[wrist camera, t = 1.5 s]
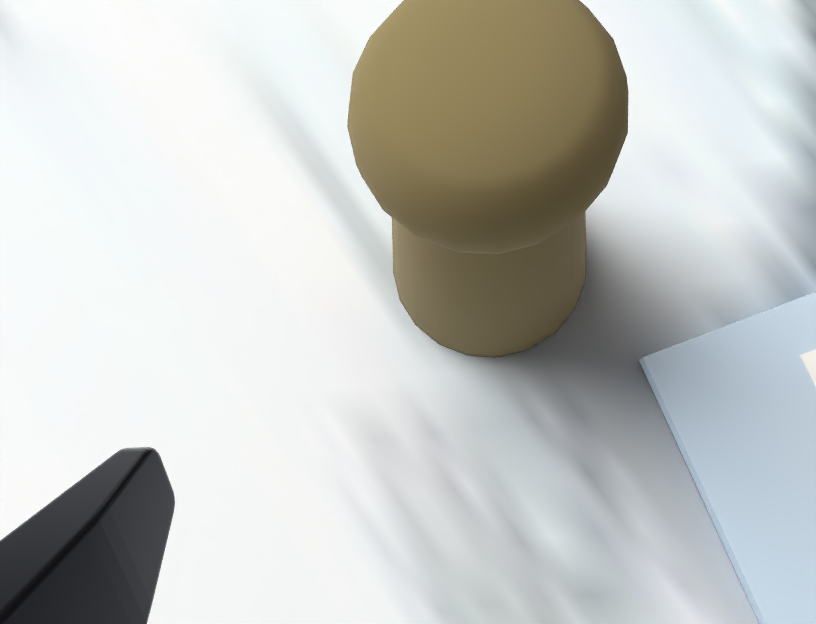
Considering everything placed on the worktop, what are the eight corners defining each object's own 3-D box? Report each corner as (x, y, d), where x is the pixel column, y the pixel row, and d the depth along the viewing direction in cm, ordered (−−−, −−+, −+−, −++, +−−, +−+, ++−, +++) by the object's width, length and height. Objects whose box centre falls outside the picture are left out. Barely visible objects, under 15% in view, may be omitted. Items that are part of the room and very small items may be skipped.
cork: (598, 347, 21) (703, 215, 11) (399, 365, 22) (313, 256, 11) (573, 163, 23) (643, -115, 12) (387, 184, 23) (300, -64, 13)
